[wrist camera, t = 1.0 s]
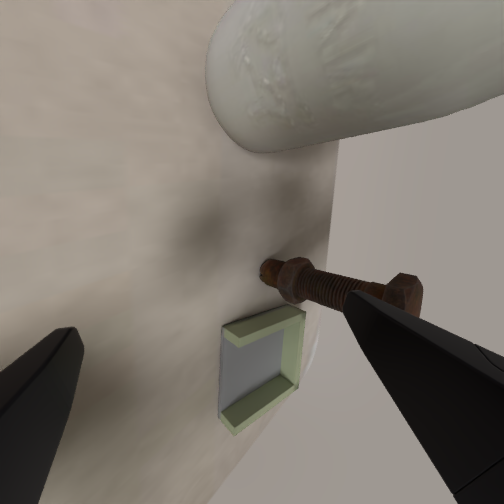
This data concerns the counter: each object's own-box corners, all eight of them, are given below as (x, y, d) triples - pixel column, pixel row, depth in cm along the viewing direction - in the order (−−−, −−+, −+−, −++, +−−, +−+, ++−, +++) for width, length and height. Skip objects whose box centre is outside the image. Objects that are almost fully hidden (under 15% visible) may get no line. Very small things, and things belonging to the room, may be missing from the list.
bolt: (260, 242, 26) (416, 269, 15) (286, 253, 30) (428, 282, 19) (245, 291, 26) (394, 355, 15) (272, 296, 29) (410, 352, 18)
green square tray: (217, 416, 26) (234, 436, 24) (221, 326, 24) (239, 338, 22) (281, 376, 33) (298, 388, 31) (287, 304, 32) (306, 311, 29)
